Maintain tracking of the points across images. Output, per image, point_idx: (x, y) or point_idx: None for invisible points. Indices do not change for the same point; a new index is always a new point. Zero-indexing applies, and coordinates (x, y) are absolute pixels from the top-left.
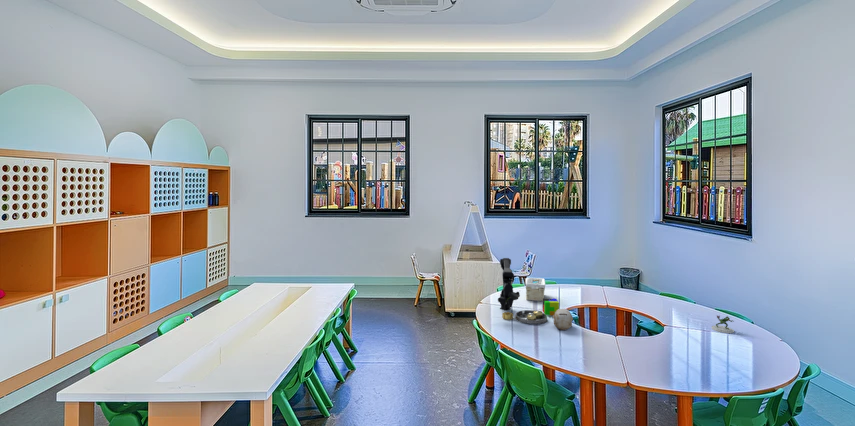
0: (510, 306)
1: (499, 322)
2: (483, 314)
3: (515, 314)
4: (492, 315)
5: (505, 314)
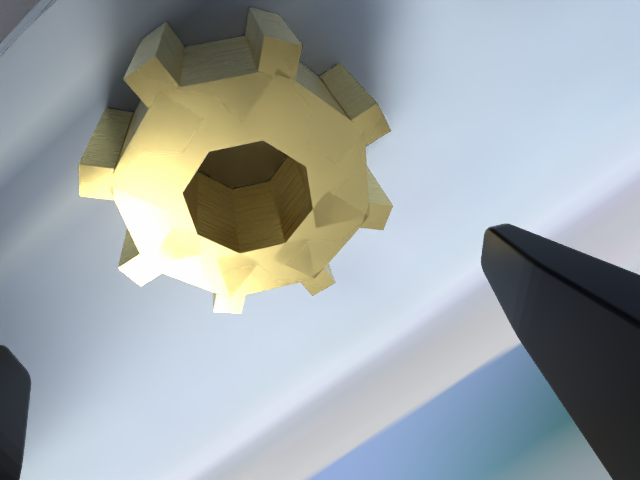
0: (8, 391)
1: (580, 74)
2: (391, 419)
3: (18, 18)
4: (340, 359)
5: (366, 178)
